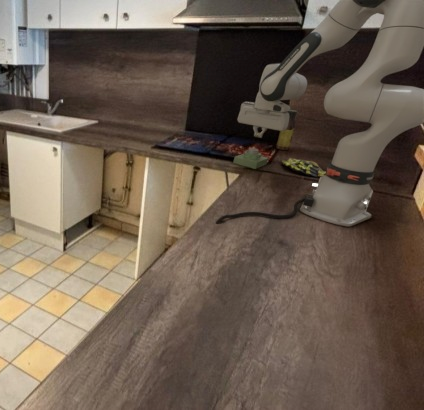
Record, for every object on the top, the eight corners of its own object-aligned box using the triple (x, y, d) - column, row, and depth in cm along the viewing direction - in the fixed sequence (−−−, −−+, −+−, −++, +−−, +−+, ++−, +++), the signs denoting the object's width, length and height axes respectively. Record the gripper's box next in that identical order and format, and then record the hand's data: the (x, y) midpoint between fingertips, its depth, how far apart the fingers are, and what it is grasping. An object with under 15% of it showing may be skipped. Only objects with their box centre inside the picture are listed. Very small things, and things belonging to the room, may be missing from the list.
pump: (255, 155, 155) (256, 150, 154) (246, 153, 158) (247, 148, 157) (259, 154, 158) (260, 149, 157) (250, 152, 160) (251, 147, 160)
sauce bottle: (290, 151, 185) (302, 112, 177) (277, 150, 186) (288, 111, 178) (286, 148, 191) (297, 110, 183) (274, 146, 192) (284, 109, 184)
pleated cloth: (276, 162, 167) (284, 149, 165) (311, 177, 164) (319, 164, 162) (286, 168, 148) (294, 153, 146) (325, 184, 145) (335, 170, 143)
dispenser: (255, 169, 153) (258, 157, 150) (233, 162, 159) (235, 152, 157) (266, 164, 160) (269, 153, 158) (245, 158, 167) (247, 148, 165)
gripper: (238, 101, 154) (231, 132, 160) (288, 108, 141) (278, 143, 146) (245, 100, 158) (238, 131, 164) (294, 107, 144) (284, 141, 150)
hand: (257, 136), depth 155 cm, fingers closed
